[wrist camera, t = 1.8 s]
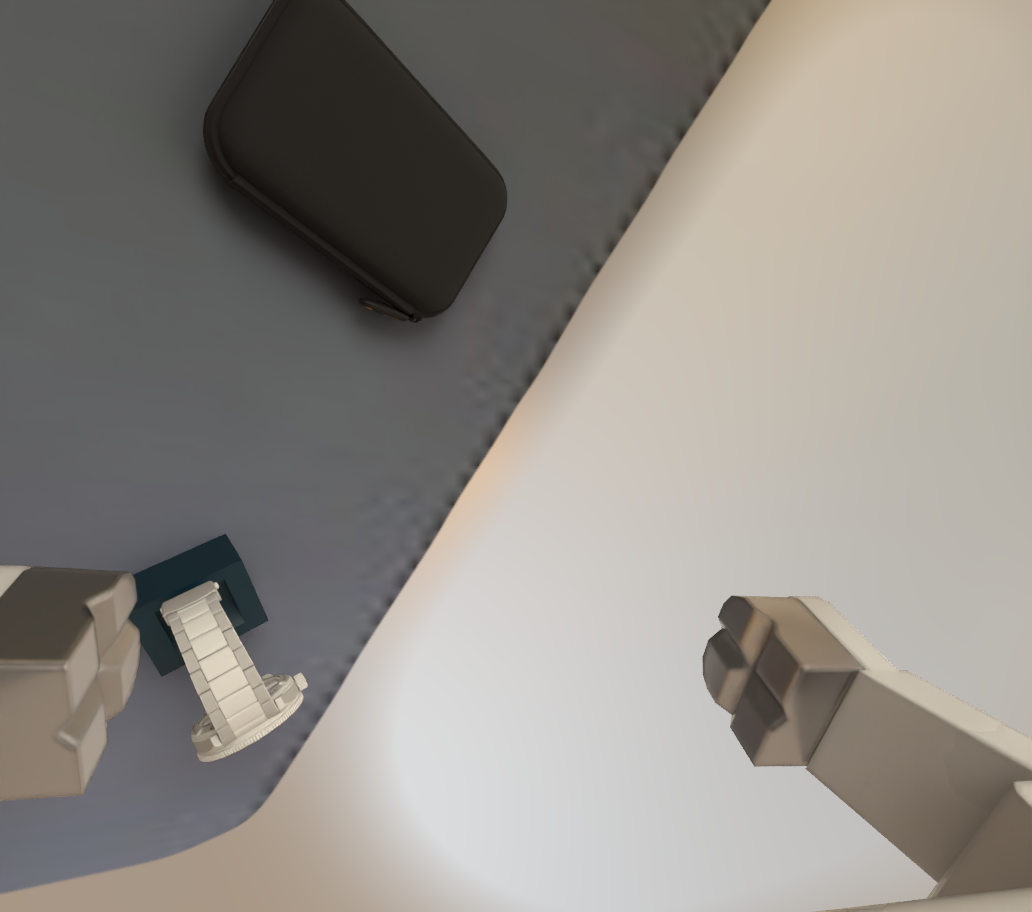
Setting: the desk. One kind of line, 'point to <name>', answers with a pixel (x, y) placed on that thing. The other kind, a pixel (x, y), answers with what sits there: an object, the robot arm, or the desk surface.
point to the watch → (213, 645)
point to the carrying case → (355, 156)
